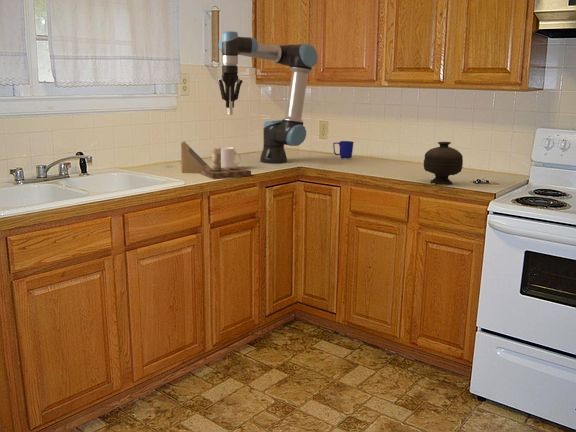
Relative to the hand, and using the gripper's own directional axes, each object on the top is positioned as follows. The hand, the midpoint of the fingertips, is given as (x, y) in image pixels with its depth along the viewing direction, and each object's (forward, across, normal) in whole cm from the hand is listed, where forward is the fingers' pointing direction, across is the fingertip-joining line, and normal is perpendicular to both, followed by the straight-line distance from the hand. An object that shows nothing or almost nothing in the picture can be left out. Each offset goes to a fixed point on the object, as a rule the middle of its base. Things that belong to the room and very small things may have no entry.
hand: (229, 114), depth 282 cm
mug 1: (+29, -4, -9) cm, 30 cm away
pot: (+29, -77, +69) cm, 107 cm away
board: (+28, +6, +8) cm, 30 cm away
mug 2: (+29, -84, -18) cm, 91 cm away
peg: (+28, +11, +8) cm, 31 cm away
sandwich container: (+29, +14, -6) cm, 33 cm away
